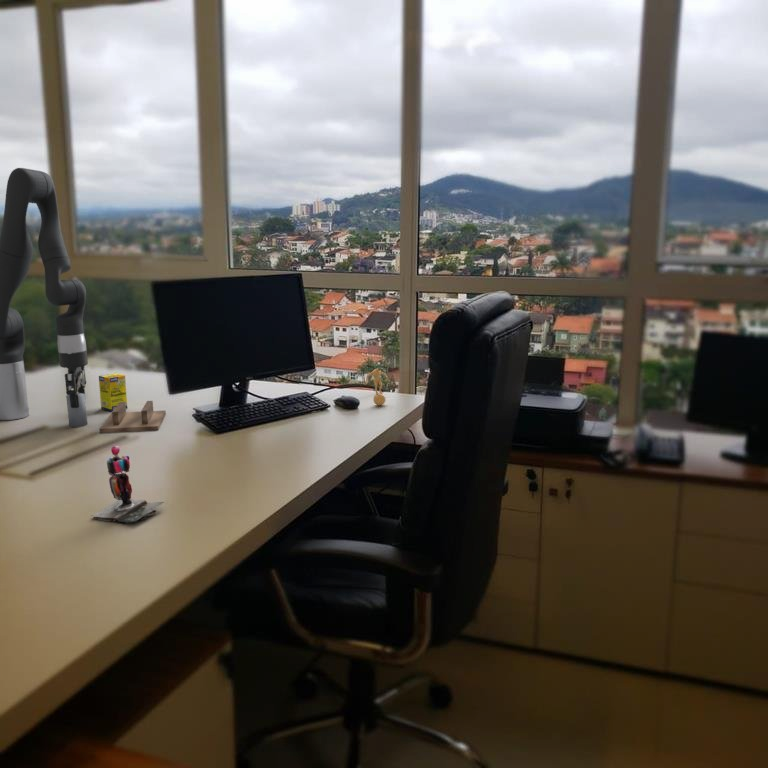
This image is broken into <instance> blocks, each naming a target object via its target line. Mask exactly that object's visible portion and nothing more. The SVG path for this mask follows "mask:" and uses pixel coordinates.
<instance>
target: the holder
mask: <svg viewBox="0 0 768 768" xmlns="http://www.w3.org/2000/svg"><path fill="white" fill-rule="evenodd" d="M166 412H167V411H166V410H154V401H153V400H147V401H146V402H145V404H144V405H143V407H142V409H141V411H127V408H126V405H125V402H119V404H118V405H117V406H116V408H115V409H114V410H113V411H112V412H111V413H110V414H109V415H108V417H107V418H106V420H104V422H103V423H102V425H101V426H100V427H99V433H100V434H102V433H104V434H105V433H123V432H124V433H125V432H144V431H145V432H147V431H149V432H150V431H159V430H160V428H161V425H162V423H163V421H164V419H165V416H166V415H167V413H166Z"/></svg>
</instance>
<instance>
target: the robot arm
mask: <svg viewBox="0 0 768 768" xmlns="http://www.w3.org/2000/svg"><path fill="white" fill-rule="evenodd" d="M55 187H56V186H55V183H54V181H53V179H52V176H50V174H49V173H47V172H45V171H41V170H37V169H36V170H35V169H31V168H24V167H16V168H15V169H13V170H12V171H11V172H10V174H9V176H8V179H7V185H6V190H5V191H6V192H5V201H4V212H3V219H2V225H1V229H0V420H1V421H13V420H18V419H24V418H27V417H28V416H30V410H29V409H30V408H29V401H28V400H29V399H28V390H27V389H28V388H27V382H26V374H25V373H26V371H25V363H24V353H25V349H26V348H25V347H26V342H25V341H26V340H25V327H24V326H25V325H24V321H23V317H22V316H21V314H20V312H19V311H18V310H17V309H16V308H14V307H11V303H12V301H13V297H14V296H15V294H16V292H17V291H18V290H19V288H20V287H21V285H22V284H23V282H24V281H25V279H26V278H27V276H28V273H29V271H30V268H31V264H32V259H33V256H34V255H33V254H34V245H33V242H32V238H31V236H30V233H29V230H28V227H27V211H28V207H29V204H36V205H37V209H38V210H39V215H40V219H41V221H40V222H41V223H40V224H41V225H40V229H39V232H38V237H37V239H38V240H37V247H38V251H39V252H38V253H39V254H40V259H41V261H42V265H43V269H44V277H45V278H44V279H45V280H44V281H45V283H44V284H45V285H44V287H45V289H44V291H45V297H46V299H47V301H48V302H49V303H50V304H51V305H53V306H54V307H63V306H68V309H67V310H66V311H64V312H63V313H61V314H58V315H56V318H55V324H56V332H57V350H58V351H57V352H58V360H59V366H60V367H61V368H64V369H67V373H64V379H65V380H64V381H65V390H66V395H70V404H71V408H78V407H79V398H78V393H83V394H85V395H86V391H85V388H86V384H87V380H86V372H85V370H86V369H85V366H87V365H88V364H89V363H88V362H89V361H88V351H87V343H86V342H87V341H86V337H85V332H84V331H85V330H84V323H83V318H84V313H85V306H86V301H87V288H86V287H85V285H84V283H83V282H82V281H81V280H79V279H75V278H73V279H61V278H60V277H61V274H65V273H67V272H69V271H70V270H71V268H72V264H71V260H70V257H69V256H70V255H69V254H68V251H67V248H66V244H65V240H64V237H63V233H62V227H61V221H60V212H59V205H58V198H57V192H56V188H55ZM85 400H86V397H85Z"/></svg>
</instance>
